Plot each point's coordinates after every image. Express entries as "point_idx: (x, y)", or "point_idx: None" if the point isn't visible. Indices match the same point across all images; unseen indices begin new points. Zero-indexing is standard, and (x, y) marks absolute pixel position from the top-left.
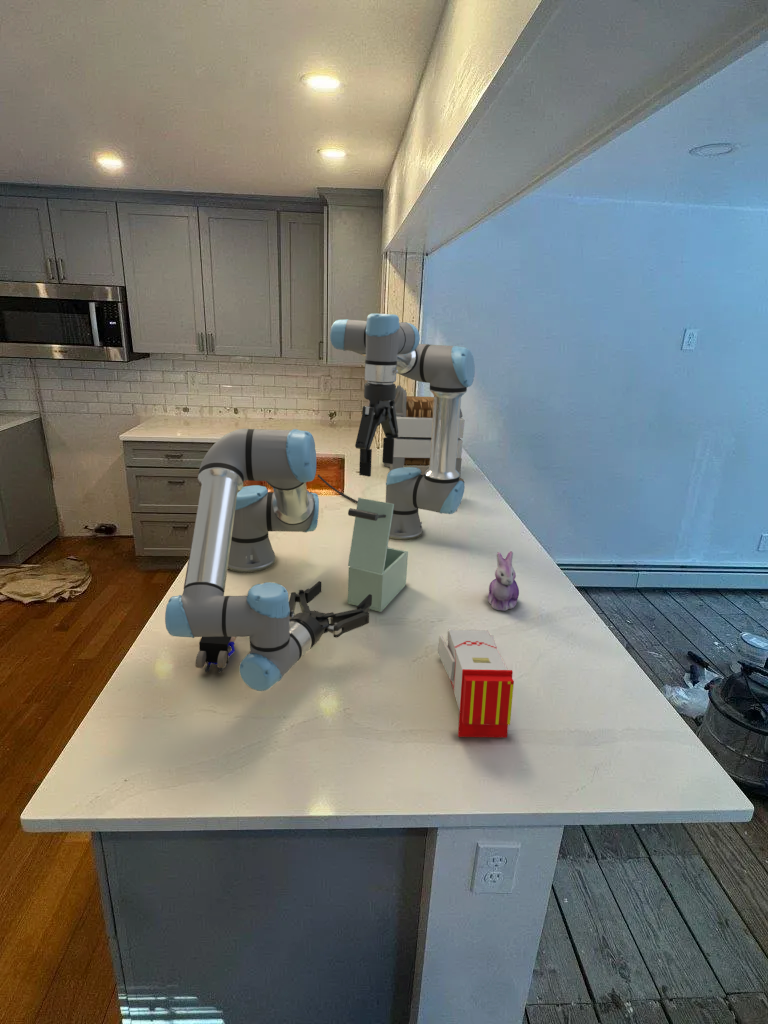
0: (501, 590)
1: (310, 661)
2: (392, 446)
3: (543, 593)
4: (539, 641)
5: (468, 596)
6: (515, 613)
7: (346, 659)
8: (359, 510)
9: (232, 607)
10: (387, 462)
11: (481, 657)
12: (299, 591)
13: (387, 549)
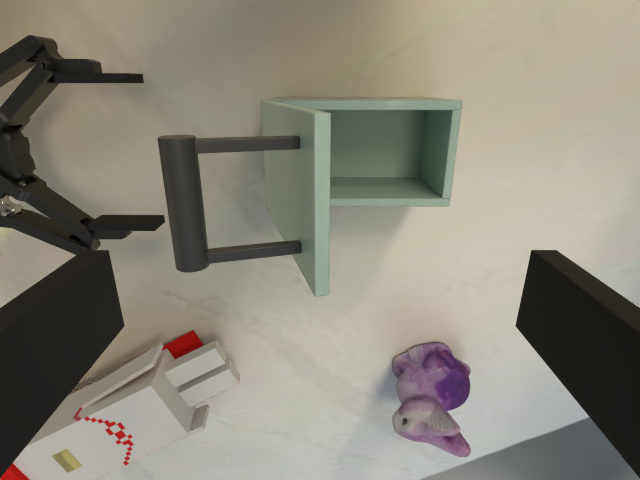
0: (399, 395)
1: (50, 139)
2: (612, 442)
3: (491, 412)
4: (324, 428)
5: (425, 309)
6: (396, 388)
7: (98, 195)
8: (174, 193)
9: None
10: (524, 296)
11: (76, 458)
12: (38, 60)
13: (447, 143)
